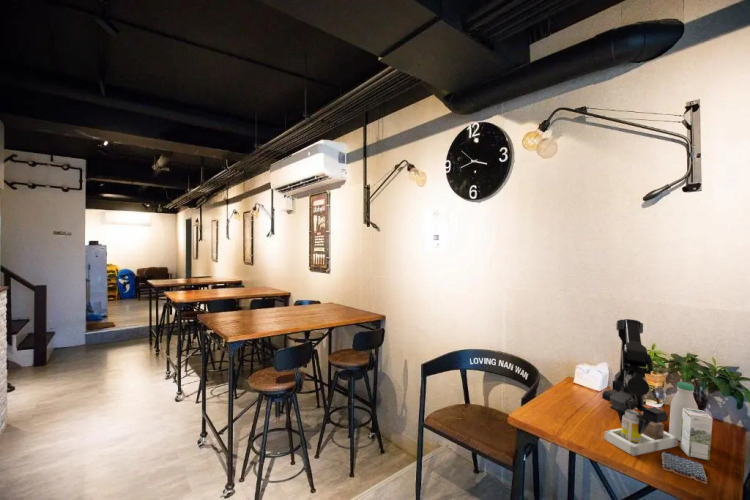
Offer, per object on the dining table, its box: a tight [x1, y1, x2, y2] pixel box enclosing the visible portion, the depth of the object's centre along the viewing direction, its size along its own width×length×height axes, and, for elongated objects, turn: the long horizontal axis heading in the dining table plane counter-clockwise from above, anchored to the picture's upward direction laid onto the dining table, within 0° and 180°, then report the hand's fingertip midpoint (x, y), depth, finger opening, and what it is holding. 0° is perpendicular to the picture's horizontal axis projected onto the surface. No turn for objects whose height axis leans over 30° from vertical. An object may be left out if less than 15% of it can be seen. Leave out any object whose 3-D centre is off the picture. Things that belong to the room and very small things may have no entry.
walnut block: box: [642, 421, 665, 440], centre depth 124 cm, size 5×5×7 cm
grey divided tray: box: [603, 428, 679, 457], centre depth 123 cm, size 22×10×3 cm, turn 109°
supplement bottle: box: [621, 409, 641, 444], centre depth 121 cm, size 6×6×10 cm
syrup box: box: [679, 408, 713, 461], centre depth 117 cm, size 6×6×14 cm
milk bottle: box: [668, 381, 699, 442], centre depth 127 cm, size 8×8×20 cm
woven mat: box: [660, 450, 708, 485], centre depth 109 cm, size 10×11×2 cm
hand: (631, 429), depth 121 cm, fingers closed on supplement bottle, 5 cm apart
